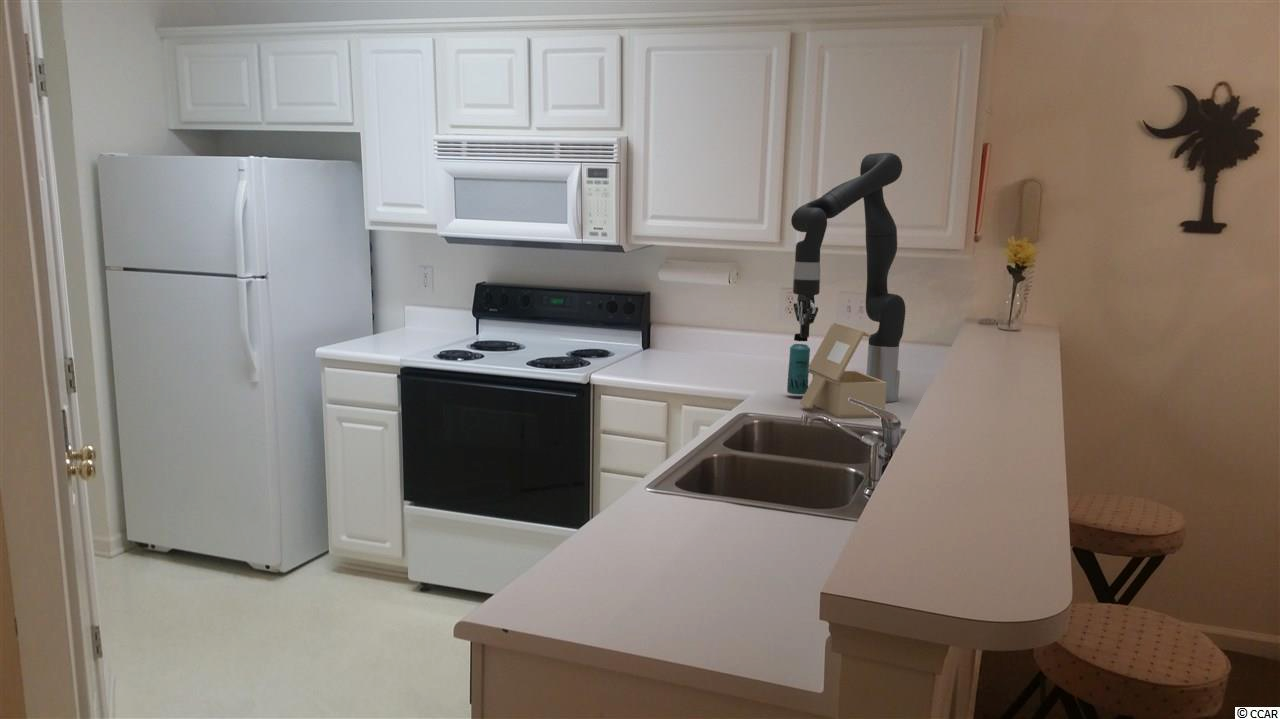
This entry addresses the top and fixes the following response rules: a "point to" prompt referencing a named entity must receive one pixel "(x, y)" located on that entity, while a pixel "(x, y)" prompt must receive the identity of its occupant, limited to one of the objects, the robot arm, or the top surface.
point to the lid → (831, 359)
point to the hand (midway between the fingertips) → (804, 337)
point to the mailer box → (852, 395)
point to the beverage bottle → (798, 367)
